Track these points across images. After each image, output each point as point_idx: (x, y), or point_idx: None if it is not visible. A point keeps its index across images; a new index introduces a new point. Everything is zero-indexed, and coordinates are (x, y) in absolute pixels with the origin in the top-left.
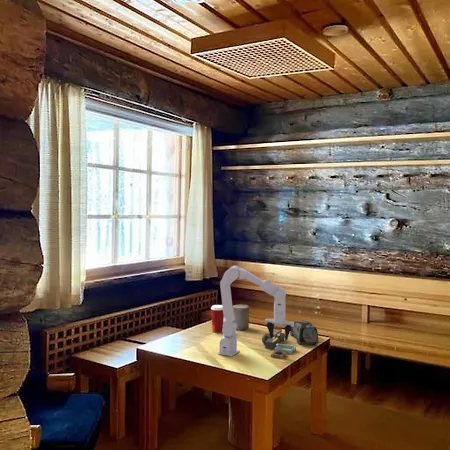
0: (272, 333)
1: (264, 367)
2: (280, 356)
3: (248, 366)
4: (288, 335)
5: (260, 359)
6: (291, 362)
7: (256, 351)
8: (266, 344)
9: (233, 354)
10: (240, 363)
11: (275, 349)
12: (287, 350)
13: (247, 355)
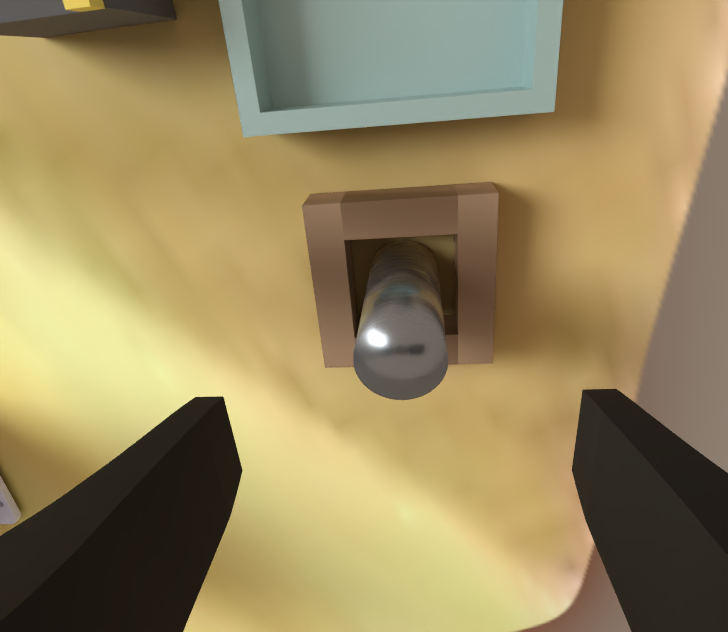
0: (185, 517)
1: (424, 602)
2: (464, 357)
3: (299, 626)
4: (696, 461)
5: (281, 464)
6: (635, 399)
7: (61, 249)
8: (9, 29)
9: (3, 496)
10: (205, 601)
11: (267, 134)
12: (492, 115)
13: (98, 423)
